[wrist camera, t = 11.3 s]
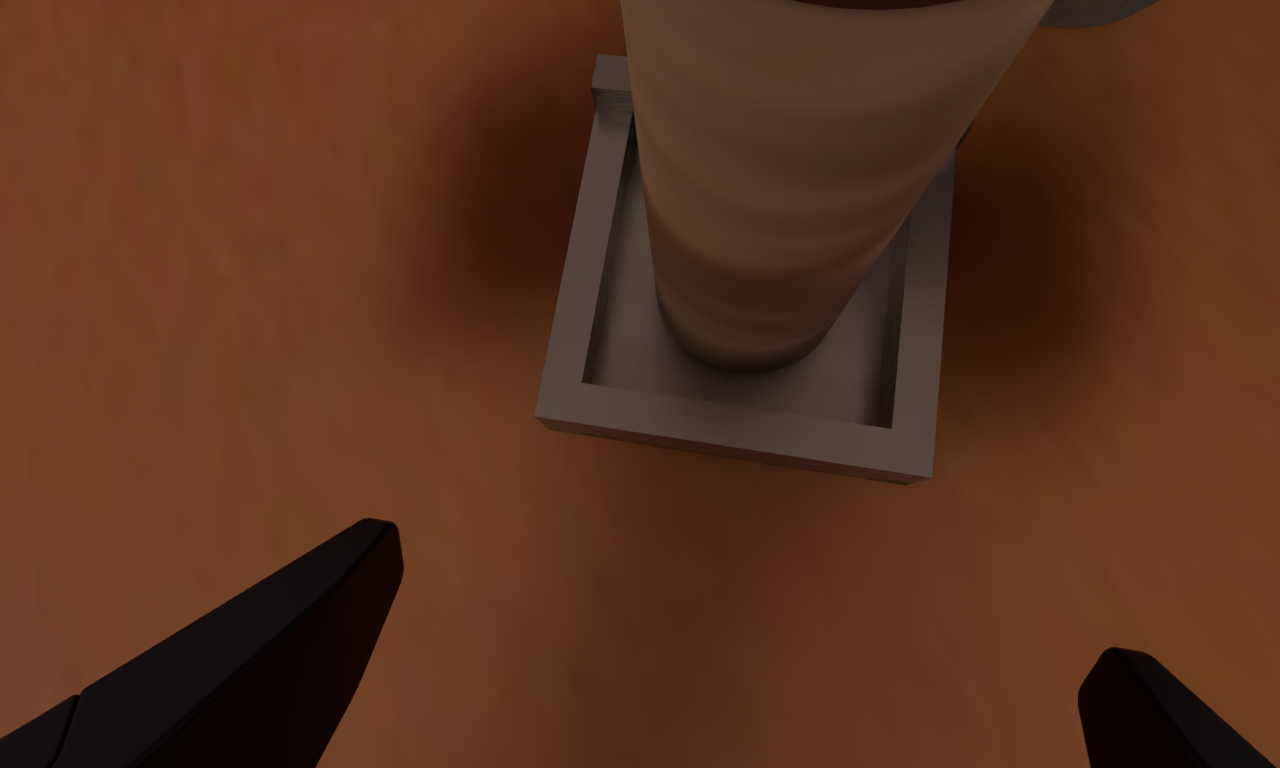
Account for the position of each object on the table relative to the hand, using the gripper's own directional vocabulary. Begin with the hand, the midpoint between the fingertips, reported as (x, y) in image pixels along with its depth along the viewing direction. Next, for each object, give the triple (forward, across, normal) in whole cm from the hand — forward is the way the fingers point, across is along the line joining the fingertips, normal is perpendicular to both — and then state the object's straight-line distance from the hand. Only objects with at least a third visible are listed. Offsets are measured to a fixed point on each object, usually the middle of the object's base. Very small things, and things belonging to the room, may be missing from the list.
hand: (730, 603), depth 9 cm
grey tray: (+12, 0, +1) cm, 12 cm away
